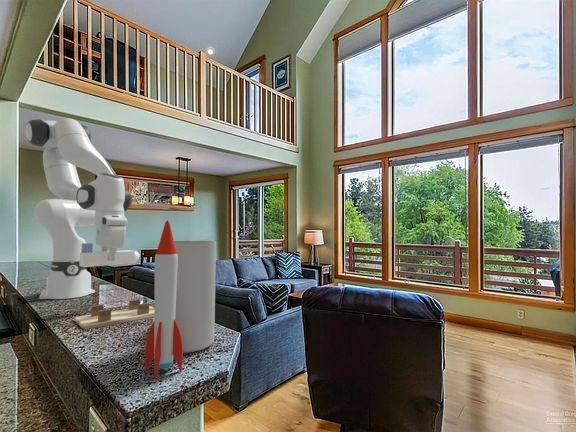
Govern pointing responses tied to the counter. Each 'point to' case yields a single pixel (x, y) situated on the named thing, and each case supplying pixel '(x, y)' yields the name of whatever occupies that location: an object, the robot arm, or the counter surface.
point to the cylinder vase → (196, 293)
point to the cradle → (115, 315)
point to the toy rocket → (165, 308)
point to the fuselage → (105, 257)
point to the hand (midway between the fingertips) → (108, 259)
